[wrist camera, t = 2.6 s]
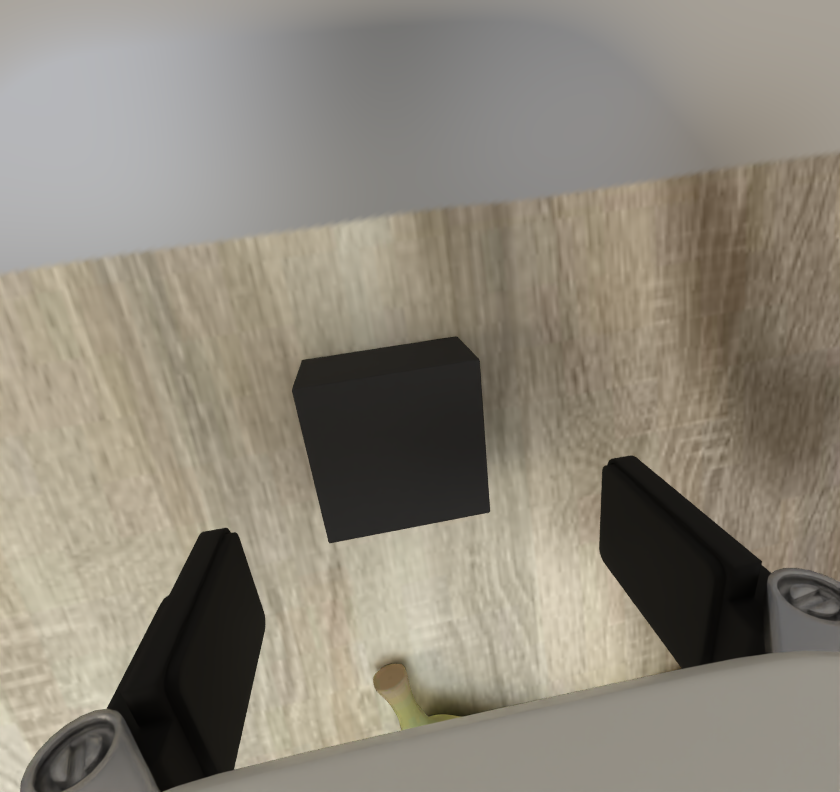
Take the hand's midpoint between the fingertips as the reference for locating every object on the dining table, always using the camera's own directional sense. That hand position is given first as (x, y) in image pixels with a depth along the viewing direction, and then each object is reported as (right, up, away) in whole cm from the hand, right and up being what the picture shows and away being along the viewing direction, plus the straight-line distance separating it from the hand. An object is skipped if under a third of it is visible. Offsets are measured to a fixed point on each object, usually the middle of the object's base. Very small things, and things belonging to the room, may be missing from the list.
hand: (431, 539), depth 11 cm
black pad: (-1, +3, +7) cm, 8 cm away
